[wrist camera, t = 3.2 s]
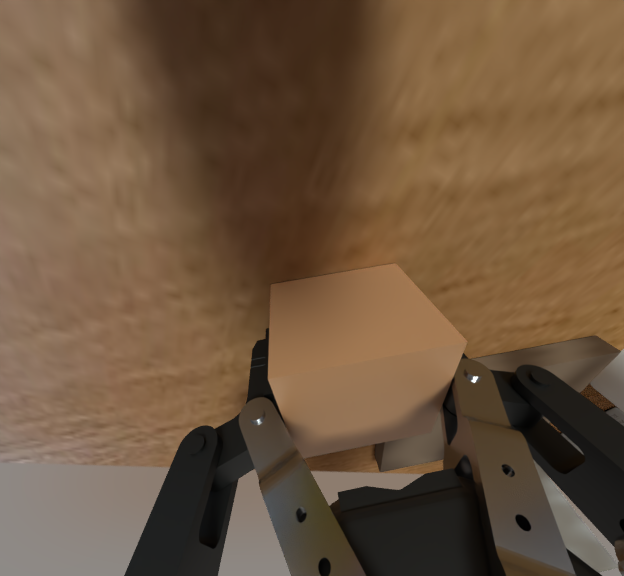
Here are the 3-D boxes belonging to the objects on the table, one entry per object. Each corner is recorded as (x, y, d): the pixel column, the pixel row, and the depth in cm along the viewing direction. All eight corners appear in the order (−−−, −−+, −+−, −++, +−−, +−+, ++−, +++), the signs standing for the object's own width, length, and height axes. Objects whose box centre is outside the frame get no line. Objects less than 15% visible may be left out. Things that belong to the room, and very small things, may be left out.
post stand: (596, 335, 17) (874, 511, 9) (518, 425, 25) (630, 560, 17) (383, 375, 16) (484, 604, 8) (374, 455, 24) (422, 609, 16)
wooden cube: (395, 263, 11) (467, 341, 7) (386, 346, 14) (431, 432, 10) (270, 284, 11) (267, 378, 7) (291, 364, 14) (298, 459, 10)
